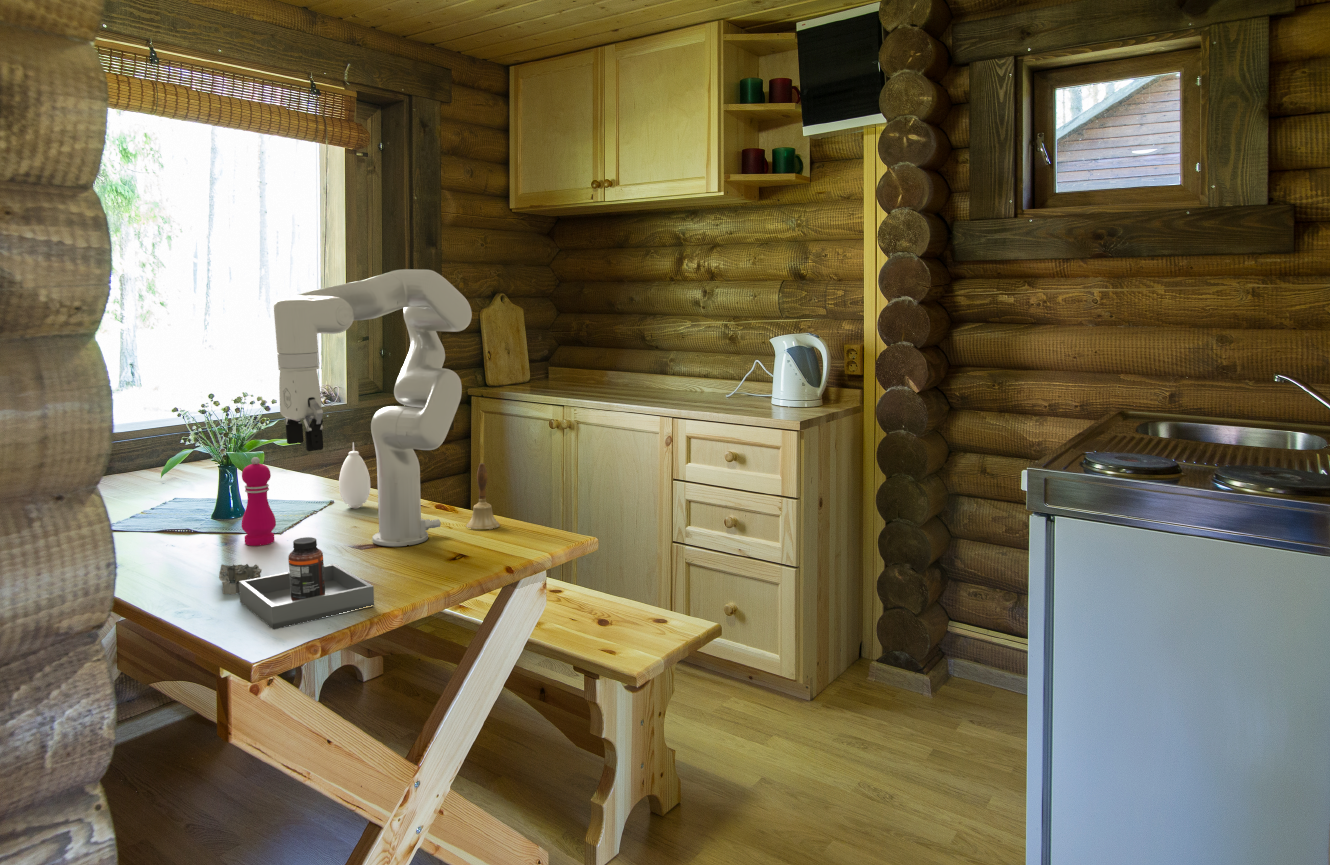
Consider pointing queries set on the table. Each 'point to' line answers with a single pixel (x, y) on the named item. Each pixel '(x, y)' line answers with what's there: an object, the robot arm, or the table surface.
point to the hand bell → (482, 505)
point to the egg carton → (237, 576)
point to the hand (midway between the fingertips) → (305, 446)
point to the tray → (279, 610)
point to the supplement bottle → (306, 569)
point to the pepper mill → (257, 505)
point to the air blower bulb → (354, 480)
